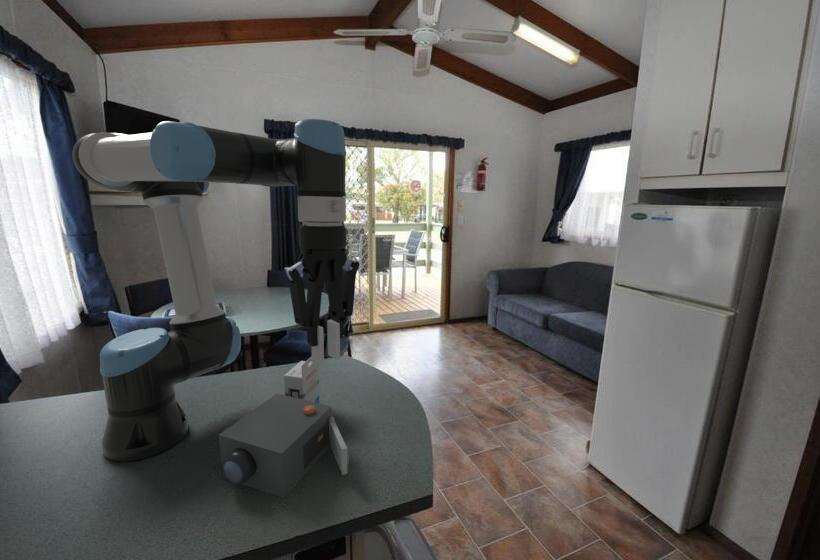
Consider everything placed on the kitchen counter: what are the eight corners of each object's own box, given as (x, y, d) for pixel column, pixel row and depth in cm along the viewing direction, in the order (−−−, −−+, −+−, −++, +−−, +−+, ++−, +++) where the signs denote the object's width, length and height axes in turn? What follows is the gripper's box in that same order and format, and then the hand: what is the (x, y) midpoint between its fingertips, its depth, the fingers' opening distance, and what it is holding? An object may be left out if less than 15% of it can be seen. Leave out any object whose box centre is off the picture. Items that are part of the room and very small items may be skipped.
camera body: (210, 487, 67) (205, 439, 65) (278, 429, 85) (276, 390, 82) (279, 511, 62) (276, 461, 60) (337, 445, 80) (336, 403, 78)
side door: (330, 446, 78) (330, 423, 76) (338, 444, 78) (337, 421, 77) (342, 475, 70) (341, 449, 68) (350, 472, 70) (350, 447, 69)
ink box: (302, 401, 96) (300, 348, 93) (320, 404, 95) (318, 350, 92) (285, 420, 88) (282, 363, 85) (304, 423, 87) (302, 365, 84)
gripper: (288, 227, 52) (295, 381, 57) (374, 223, 63) (374, 353, 68) (265, 223, 57) (273, 365, 62) (348, 221, 68) (349, 341, 73)
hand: (326, 358), depth 65 cm, fingers open, 3 cm apart
